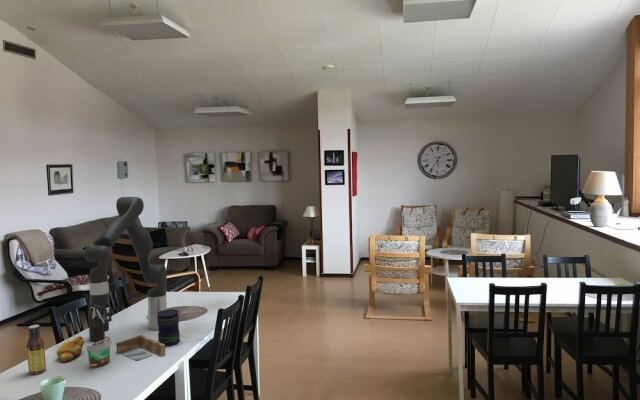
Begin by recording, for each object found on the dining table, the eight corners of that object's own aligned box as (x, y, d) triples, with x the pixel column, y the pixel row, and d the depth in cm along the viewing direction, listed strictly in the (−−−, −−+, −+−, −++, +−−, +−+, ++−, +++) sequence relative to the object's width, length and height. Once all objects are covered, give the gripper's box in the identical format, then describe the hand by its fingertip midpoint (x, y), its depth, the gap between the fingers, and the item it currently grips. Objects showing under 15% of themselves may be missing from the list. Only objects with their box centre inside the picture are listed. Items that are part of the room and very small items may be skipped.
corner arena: (116, 353, 213) (116, 342, 213) (141, 345, 223) (141, 334, 222) (139, 364, 201) (139, 353, 200) (165, 355, 210) (164, 344, 210)
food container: (100, 370, 196) (99, 347, 195) (87, 369, 197) (86, 346, 196) (118, 358, 208) (117, 336, 207) (106, 357, 209) (105, 335, 208)
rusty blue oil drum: (184, 340, 228) (182, 310, 227) (171, 347, 219) (170, 316, 218) (167, 338, 231) (165, 308, 230) (153, 345, 222) (152, 314, 221)
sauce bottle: (33, 369, 198) (30, 323, 197) (49, 368, 199) (46, 322, 197) (25, 376, 192) (22, 328, 190) (41, 375, 192) (38, 328, 191)
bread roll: (72, 363, 204) (71, 345, 203) (50, 363, 204) (49, 346, 203) (86, 351, 217) (85, 334, 216) (65, 352, 216) (64, 335, 216)
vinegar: (108, 338, 233) (105, 298, 232) (96, 342, 227) (94, 302, 225) (98, 336, 236) (96, 297, 234) (86, 340, 230) (84, 300, 228)
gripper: (82, 291, 202) (84, 328, 203) (98, 296, 193) (100, 335, 194) (100, 287, 208) (102, 323, 209) (116, 292, 199) (118, 330, 200)
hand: (101, 329), depth 201 cm, fingers open, 8 cm apart
